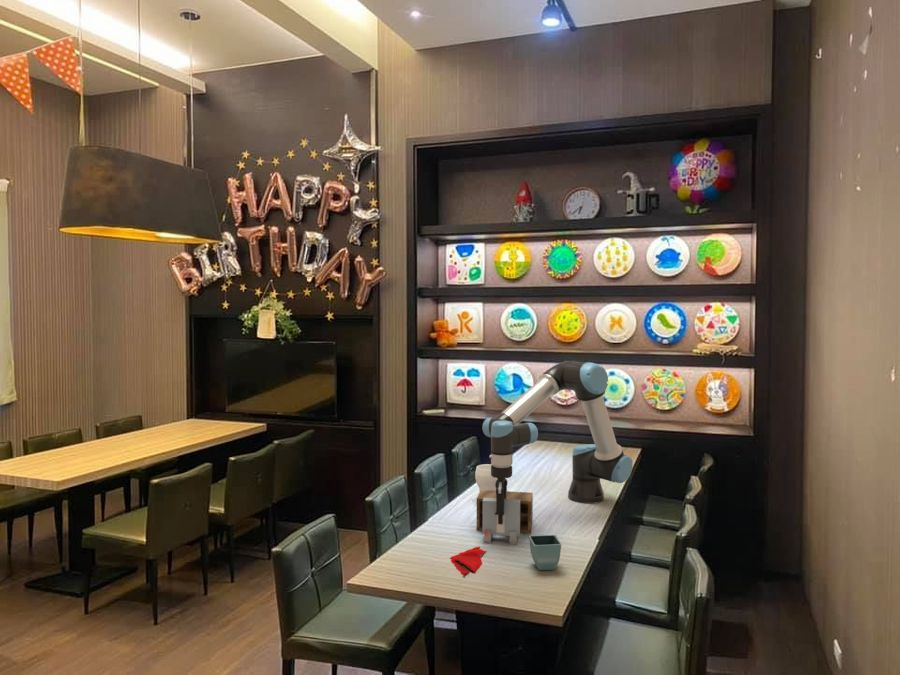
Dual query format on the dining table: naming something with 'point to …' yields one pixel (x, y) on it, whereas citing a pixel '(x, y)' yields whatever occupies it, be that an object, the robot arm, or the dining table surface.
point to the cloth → (468, 560)
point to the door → (510, 516)
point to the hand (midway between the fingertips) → (501, 530)
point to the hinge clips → (489, 537)
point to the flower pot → (545, 551)
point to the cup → (485, 478)
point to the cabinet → (524, 498)
